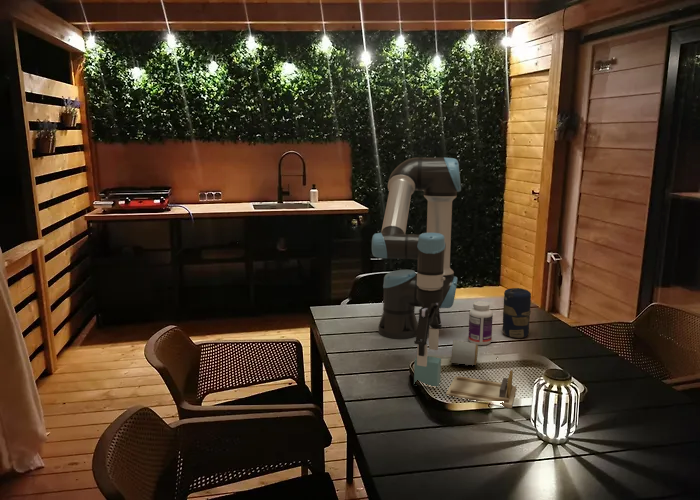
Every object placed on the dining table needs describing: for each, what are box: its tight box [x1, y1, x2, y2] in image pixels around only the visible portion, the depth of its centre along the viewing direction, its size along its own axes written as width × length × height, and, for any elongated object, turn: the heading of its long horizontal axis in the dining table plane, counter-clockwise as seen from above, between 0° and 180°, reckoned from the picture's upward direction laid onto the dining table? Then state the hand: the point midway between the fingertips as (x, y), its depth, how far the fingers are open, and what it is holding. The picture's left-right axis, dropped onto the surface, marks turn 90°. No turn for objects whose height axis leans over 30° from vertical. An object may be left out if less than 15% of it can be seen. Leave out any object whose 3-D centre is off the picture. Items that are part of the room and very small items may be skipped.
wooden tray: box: [445, 370, 517, 409], centre depth 158 cm, size 18×12×7 cm, turn 68°
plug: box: [413, 355, 442, 387], centre depth 164 cm, size 7×4×8 cm, turn 68°
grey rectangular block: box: [450, 339, 479, 367], centre depth 180 cm, size 11×8×8 cm
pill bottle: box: [468, 300, 494, 346], centre depth 196 cm, size 8×8×14 cm
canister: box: [501, 287, 532, 339], centre depth 203 cm, size 10×10×18 cm
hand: (427, 357), depth 163 cm, fingers open, 13 cm apart
